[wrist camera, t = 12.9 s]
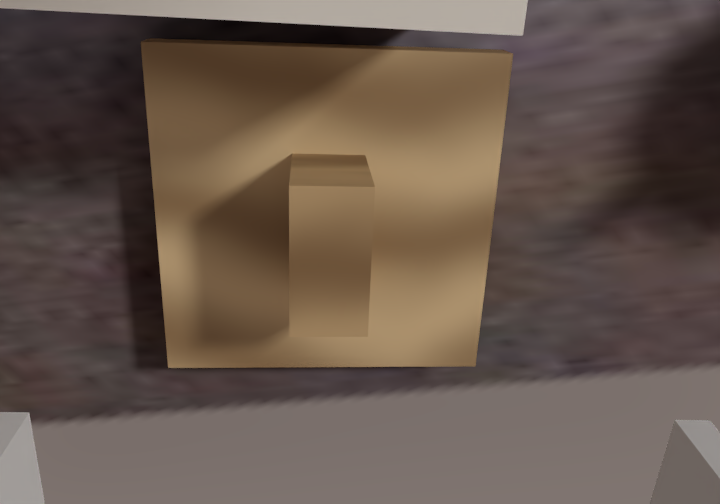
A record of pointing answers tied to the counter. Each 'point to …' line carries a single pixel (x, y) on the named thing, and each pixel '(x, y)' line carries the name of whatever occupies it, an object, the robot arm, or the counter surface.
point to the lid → (323, 200)
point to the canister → (317, 12)
